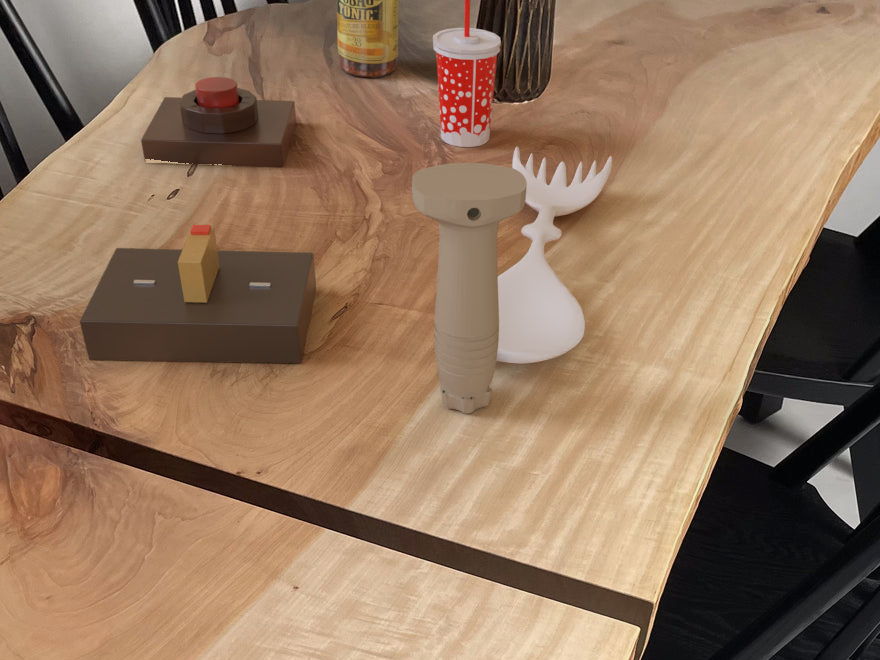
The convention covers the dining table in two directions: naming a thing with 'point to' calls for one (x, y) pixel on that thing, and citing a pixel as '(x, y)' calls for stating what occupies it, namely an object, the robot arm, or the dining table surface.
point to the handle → (467, 271)
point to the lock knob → (198, 264)
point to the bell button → (217, 92)
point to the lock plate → (201, 309)
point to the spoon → (543, 270)
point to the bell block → (221, 132)
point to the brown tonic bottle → (367, 36)
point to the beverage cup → (466, 82)
